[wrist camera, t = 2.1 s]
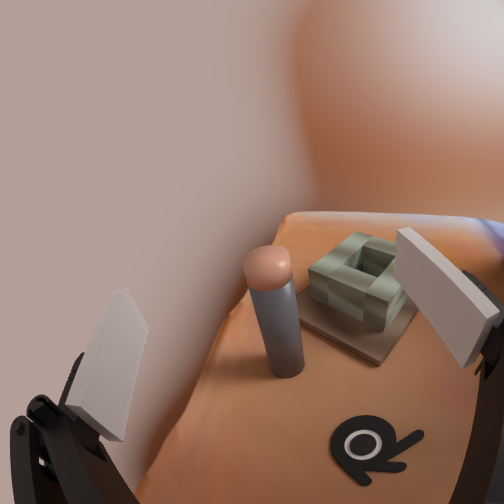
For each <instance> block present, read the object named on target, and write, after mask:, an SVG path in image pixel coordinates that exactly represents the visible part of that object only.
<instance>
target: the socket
mask: <svg viewBox="0 0 504 504" xmlns="http://www.w3.org/2000/svg"><path fill="white" fill-rule="evenodd" d="M395 252H396V243H394V242H391V241H388V240H384V239H381V238H377V237H374V236H370V235H367V234H363V233H360V232H356V231H355V232H354V233H353V234H352V235H350V236H349V237H348V238H347V239H345V240H344V241H343V242H342V243H340V244H339V245H338V246H337V247H335V248H334V249H333V250H332V251H330V252H329V253H328V254H326V255H325V256H324V257H323V258H321V259H320V260H319V261H317V262H316V263H315V264H313V265H312V266H311V267H310V268H308V273H309V282H310V285H309V286H308V287H307V288H306V289H304V290H303V291H302V292H301V293H299V294H298V295H297V296H296V301H297V308H298V316H299V323H301V324H303V325H305V326H306V327H308V328H310V329H312V330H314V331H315V332H317V333H319V334H321V335H322V336H324V337H326V338H328V339H330V340H331V341H333V342H335V343H337V344H339V345H340V346H342V347H344V348H346V349H348V350H350V351H351V352H353V353H355V354H357V355H359V356H361V357H363V358H364V359H366V360H368V361H370V362H372V363H374V364H376V365H378V366H380V365H381V364H382V362H383V361H384V360H385V358H386V357H387V356H388V354H389V353H390V352H391V350H392V349H393V348H394V346H395V345H396V343H397V342H398V340H399V339H400V337H401V336H402V335H403V333H404V332H405V330H406V329H407V327H408V326H409V324H410V322H411V321H412V319H413V318H414V316H415V315H416V313H417V311H418V310H419V308H418V307H417V306H416V304H415V303H414V302H413V300H412V299H411V298H410V297H409V295H408V294H407V293H406V292H405V290H404V289H403V288H402V287H401V285H400V284H399V283H398V282H397V281H396V279H395V278H394V277H393V274H394V264H395Z"/></svg>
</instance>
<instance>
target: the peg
mask: <svg viewBox="0 0 504 504" xmlns="http://www.w3.org/2000/svg"><path fill="white" fill-rule="evenodd" d="M242 265H243V268H244V272H245V276H246V279H247V283H248V287H249V291H250V294H251V298H252V302H253V305H254V309H255V313H256V316H257V320H258V323H259V327H260V331H261V334H262V338H263V341H264V345H265V349H266V352H267V356H268V359H269V363H270V366H271V370H272V372H273V373H274V374H275V375H276V376H278V377H281V378H291V377H294V376H296V375H298V374H299V373H300V372H301V371H302V370H303V368H304V365H305V362H304V354H303V346H302V338H301V330H300V323H299V316H298V308H297V301H296V294H295V288H294V281H293V274H292V268H291V262H290V255H289V252H288V250H287V249H286V248H284V247H281V246H276V245H269V246H262V247H259V248H256V249H254V250H252V251H250V252H249V253H247V254H246V255H245V256H244V258H243V260H242Z"/></svg>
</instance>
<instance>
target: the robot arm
mask: <svg viewBox="0 0 504 504" xmlns="http://www.w3.org/2000/svg"><path fill="white" fill-rule="evenodd" d="M393 277H394V278H395V279H396V281H397V282H398V283H399V284H400V285H401V287H402V288H403V289H404V290H405V292H406V293H407V294H408V295H409V297H410V298H411V299H412V300H413V302H414V303H415V304H416V306H417V307H418V308H419V310H420V311H421V312H422V313H423V315H424V316H425V317H426V319H427V320H428V321H429V323H430V324H431V326H432V327H433V328H434V330H435V331H436V332H437V334H438V335H439V337H440V338H441V339H442V341H443V342H444V344H445V345H446V347H447V348H448V350H449V351H450V352H451V354H452V355H453V357H454V358H455V360H456V361H457V363H458V364H459V366H460V368H461V369H464V368H465V367H467V366H469V365H471V364H472V363H474V362H475V361H476V359H477V357H478V355H479V353H480V352H481V354H482V355H483V356H484V357H483V359H482V361H481V362H480V364H479V366H478V367H477V369H476V371H475V374H474V375H477V373H478V372H479V370H480V369H481V372H480V383H479V391H478V398H477V405H476V411H475V417H474V422H473V427H472V432H471V436H470V440H469V444H468V448H467V452H466V455H465V459H464V462H463V466H462V469H461V472H460V475H459V478H458V481H457V484H456V486H455V489H454V492H453V494H452V497H451V499H450V502H449V504H504V305H503V304H502V303H501V302H500V301H499V300H498V299H497V298H496V297H495V296H494V295H493V294H492V293H491V292H490V291H489V290H487V288H486V287H485V286H484V285H483V284H481V282H480V281H479V280H478V279H477V278H476V277H475V276H474V275H472V274H470V273H468V272H466V271H465V270H463V271H460V270H459V269H458V268H457V267H456V266H455V265H454V264H452V263H451V262H450V261H449V260H448V259H447V258H446V257H445V256H444V255H442V254H441V253H440V252H439V251H438V250H437V249H436V248H434V247H433V246H432V245H431V244H430V243H428V242H427V241H426V240H425V239H424V238H423V237H421V236H420V235H419V234H418V233H416V232H415V231H414V230H413V229H411V228H410V227H406V228H402V229H398V230H397V237H396V252H395V264H394V274H393ZM148 331H149V328H148V326H147V324H146V322H145V321H144V319H143V317H142V315H141V313H140V311H139V310H138V308H137V306H136V304H135V302H134V300H133V298H132V296H131V294H130V293H129V291H128V289H127V288H122V289H117V290H114V291H113V293H112V295H111V297H110V299H109V301H108V303H107V305H106V307H105V309H104V311H103V313H102V316H101V318H100V320H99V322H98V324H97V326H96V328H95V331H94V333H93V335H92V337H91V340H90V342H89V344H88V346H87V349H86V351H85V352H83V353H81V354H80V356H79V357H78V358H77V359H76V361H75V363H74V365H73V367H72V370H71V373H70V375H69V377H68V380H67V383H66V385H65V387H64V390H63V393H62V395H61V398H60V401H59V404H58V406H57V405H55V404H54V403H53V402H52V401H51V400H50V399H49V398H48V397H47V396H45V395H38V396H36V397H35V398H33V399H32V400H31V402H30V403H29V405H28V407H27V417H28V418H30V419H31V420H32V421H33V422H31V421H30V420H29V419H27V418H26V417H25V416H19V417H17V418H16V419H15V420H14V421H13V423H12V425H11V429H10V458H11V459H10V461H11V477H12V486H13V494H14V502H15V504H140V503H139V502H138V500H137V499H136V497H135V496H134V495H133V493H132V492H131V490H130V489H129V488H128V486H127V484H126V483H125V481H124V480H123V478H122V476H121V475H120V473H119V472H118V470H117V468H116V467H115V465H114V463H113V462H112V460H111V458H110V456H109V455H108V453H107V451H106V449H105V447H104V445H103V444H102V443H101V442H100V441H99V436H100V435H102V436H103V437H104V438H106V439H107V440H109V441H118V442H124V437H125V431H126V426H127V420H128V415H129V410H130V406H131V400H132V396H133V391H134V387H135V383H136V378H137V374H138V370H139V365H140V361H141V358H142V353H143V350H144V346H145V342H146V339H147V335H148ZM39 458H40V459H42V460H43V461H44V466H42V465H41V464H39Z"/></svg>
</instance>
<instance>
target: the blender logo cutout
mask: <svg viewBox="0 0 504 504" xmlns="http://www.w3.org/2000/svg"><path fill="white" fill-rule="evenodd" d="M423 437H424V432H423V431H422V430H416V431H414V432H413V433H412V434H410V435H409V436H407V437H405V438H404V439H402V440H401V441H399V442H398V443H396V434H395V430H394V428H393V427H392V426H391V425H390V424H389V423H388V422H387V421H385V420H384V419H382V418H379V417H376V416H370V415H363V416H356V417H353V418H350V419H348V420H346V421H345V422H343V423H342V424H341V425H340V426H339V427H338V428H337V429H336V431H335V432H334V434H333V437H332V441H331V451H332V455H333V457H334V459H335V460H336V461H337V463H338V464H339V465H340V466H341V467H342V468H343V469H344V470H345V471H346V472H347V473H348V474H349V475H350V476H351V477H352V478H354V479H355V480H356V481H357V482H358V483H359V484H360V485H362V486H368V485H370V484H371V482H372V479H371V478H370V477H369V476H368V475H367V474H366V473H365V472H364V471H363V470H366V471H378V472H401V471H403V470H404V469H405V468H406V464H405V463H403V462H386V461H388V460H389V459H391V458H393V457H395V456H396V455H398V454H400V453H401V452H403V451H405V450H406V449H408V448H409V447H411V446H412V445H414V444H416V443H417V442H419V441H420V440H421V439H422V438H423Z"/></svg>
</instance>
